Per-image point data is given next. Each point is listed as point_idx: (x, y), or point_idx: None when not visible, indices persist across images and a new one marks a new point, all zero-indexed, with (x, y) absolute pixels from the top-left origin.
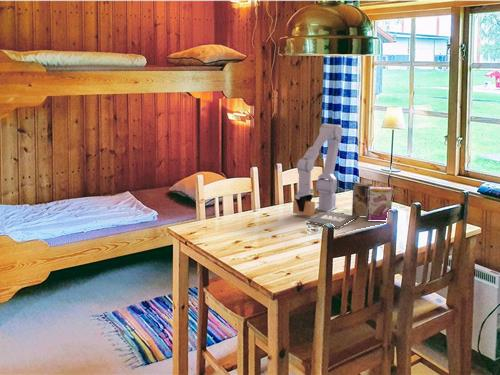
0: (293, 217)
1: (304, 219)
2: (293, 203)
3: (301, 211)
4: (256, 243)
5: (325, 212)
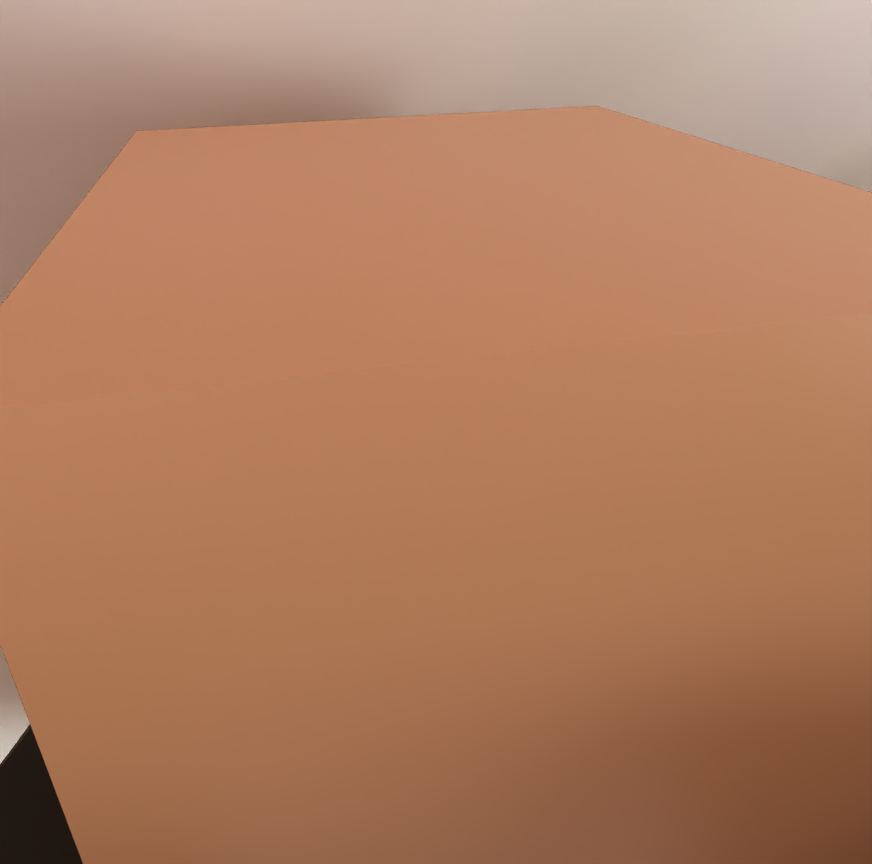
0: (7, 247)
1: None
2: (15, 332)
3: None
4: None
5: None
